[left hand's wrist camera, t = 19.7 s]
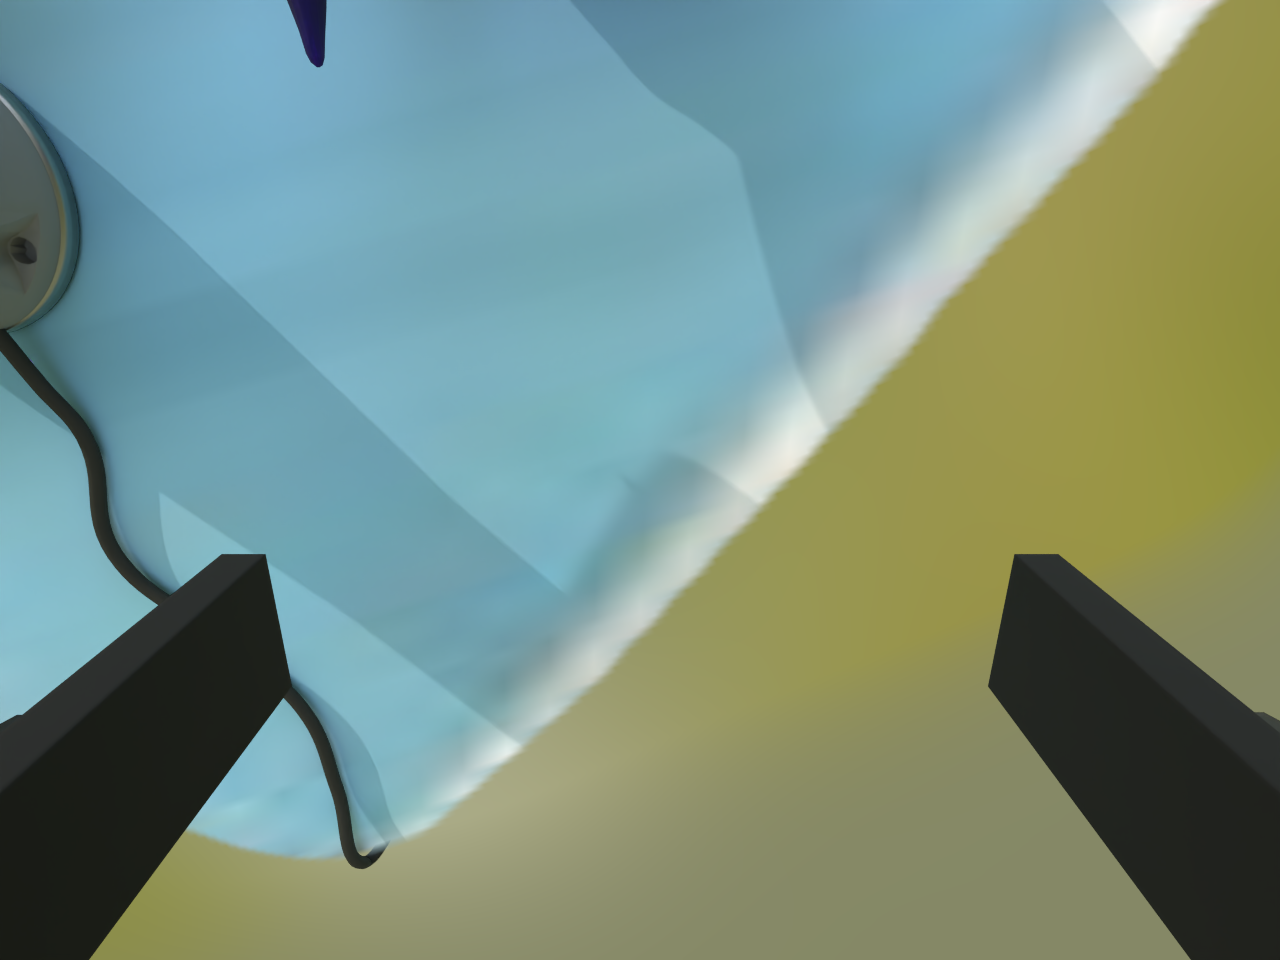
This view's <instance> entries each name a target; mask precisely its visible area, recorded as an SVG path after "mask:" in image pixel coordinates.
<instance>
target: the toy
mask: <svg viewBox="0 0 1280 960" xmlns="http://www.w3.org/2000/svg"><path fill="white" fill-rule="evenodd" d="M287 1H288V4H289V6H290V9H291V11H292V14H293V17H294V19H295V22H296V24H297V27H298V29H299V32H300V35H301V39H302V42H303V45H304V48H305V51H306V54H307V56H308V58H309V60H310V61H311V63H313V64H314V65H315V66H316V67H321V66H322V65H323V62H324V58H325V27H326V0H287Z"/></svg>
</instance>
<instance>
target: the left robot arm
mask: <svg viewBox="0 0 1280 960" xmlns="http://www.w3.org/2000/svg"><path fill="white" fill-rule="evenodd" d="M78 247H79V222H78V213H77V207H76V202H75V198H74V194H73V190H72V187H71V184H70V181H69V178H68V176H67V173H66V171H65V168H64V166H63V164H62V162H61V159H60V157H59V155H58V154H57V152H56V150H55V148H54V146H53V144H52V143H51V141H50V140H49V138H48V137H47V135H46V133H45V132H44V130H43V129H42V128H41V126H40V125H39V124H38V122H37V121H36V120H35V118H34V117H33V116H32V114H31V113H30V112H29V111H28V110H27V109H26V108H25V106H24V105H23V104H22V103H21V102H20V101H19V100H18V99H17V98H16V97H15V96H14V95H13V94H12V93H11V92H10V91H9V90H8V89H6V88H5V87H4V86H3V85H2V84H1V83H0V351H1V352H2V354H3V355H4V356H5V357H6V358H7V360H8V361H9V362H10V363H11V364H12V366H13V367H14V368H15V369H16V370H17V372H18V373H19V374H20V375H21V376H22V377H23V379H24V380H25V381H26V382H27V383H28V385H29V386H30V387H31V388H32V389H33V390H34V391H35V393H36V394H37V395H38V396H39V397H40V398H41V399H42V400H43V401H44V402H45V403H46V404H47V405H48V406H49V407H50V408H51V409H52V410H53V411H54V412H55V413H56V414H57V415H58V416H59V417H60V418H61V419H62V420H63V421H64V423H65V424H66V425H67V426H68V427H69V429H70V430H71V432H72V433H73V435H74V436H75V438H76V440H77V442H78V444H79V446H80V448H81V450H82V453H83V456H84V459H85V463H86V467H87V473H88V481H89V495H90V508H91V516H92V521H93V526H94V529H95V533H96V536H97V538H98V540H99V543H100V545H101V547H102V549H103V550H104V552H105V554H106V556H107V557H108V559H109V560H110V561H111V563H112V564H113V565H114V567H115V568H116V569H117V570H118V571H119V573H120V574H121V575H122V576H123V577H124V578H125V579H126V580H127V581H128V582H129V583H130V584H131V585H132V586H134V587H135V588H136V589H137V590H138V591H139V592H141V593H142V594H143V595H145V596H146V597H147V598H149V599H150V600H152V601H153V602H154V603H156V604H157V605H158V606H157V607H156V608H154V609H153V610H152V611H151V612H150V613H148V614H147V615H146V616H145V617H143V618H142V619H141V620H140V621H138V622H137V623H136V624H135V625H133V626H132V627H131V628H130V629H128V630H127V631H126V632H125V633H123V634H122V635H121V636H120V637H118V638H117V639H116V640H115V641H114V642H112V643H111V644H110V645H109V646H107V647H106V648H105V649H104V650H102V651H101V652H100V653H99V654H97V655H96V656H95V657H94V658H92V659H91V660H90V661H89V662H87V663H86V664H85V665H84V666H83V667H81V668H80V669H79V670H78V671H76V672H75V673H74V674H73V675H71V676H70V677H69V678H68V679H66V680H65V681H64V682H63V683H61V684H60V685H59V686H58V687H56V688H55V689H54V690H53V691H52V692H50V693H49V694H48V695H47V696H45V697H44V698H43V699H42V700H40V701H39V702H38V703H37V704H35V705H34V706H33V707H32V708H30V709H29V710H28V711H27V712H25V713H24V714H23V715H16V716H14V717H12V718H10V719H8V720H7V721H5V722H3V723H1V724H0V960H89V959H90V958H91V956H92V955H93V954H94V952H95V951H96V950H97V948H98V947H99V946H100V944H101V943H102V942H103V940H104V939H105V937H106V936H107V935H108V933H109V932H110V931H111V929H112V928H113V927H114V925H115V924H116V923H117V921H118V920H119V919H120V917H121V916H122V915H123V913H124V912H125V911H126V909H127V908H128V907H129V905H130V904H131V902H132V901H133V900H134V898H135V897H136V896H137V894H138V893H139V892H140V890H141V889H142V888H143V886H144V885H145V884H146V882H147V881H148V880H149V878H150V877H151V876H152V874H153V873H154V871H155V870H156V869H157V867H158V866H159V865H160V863H161V862H162V861H163V859H164V858H165V857H166V855H167V854H168V853H169V851H170V850H171V848H172V847H173V846H174V844H175V843H176V842H177V840H178V839H179V838H180V836H181V835H182V834H183V832H184V831H185V830H186V828H187V827H188V826H189V824H190V823H191V822H192V820H193V819H194V818H195V816H196V815H197V814H198V812H199V811H200V809H201V808H202V807H203V805H204V804H205V803H206V801H207V800H208V799H209V797H210V796H211V795H212V793H213V792H214V791H215V789H216V788H217V787H218V785H219V784H220V783H221V781H222V780H223V778H224V777H225V776H226V774H227V773H228V772H229V770H230V769H231V768H232V766H233V765H234V764H235V762H236V761H237V760H238V758H239V757H240V756H241V754H242V753H243V752H244V750H245V749H246V747H247V746H248V745H249V743H250V742H251V741H252V739H253V738H254V737H255V735H256V734H257V733H258V731H259V730H260V729H261V727H262V726H263V725H264V723H265V722H266V721H267V719H268V718H269V716H270V715H271V714H272V712H273V711H274V710H275V708H276V707H277V706H278V704H279V703H280V702H281V700H282V699H283V698H284V699H285V700H286V701H287V702H288V703H289V704H290V705H291V706H292V708H293V709H294V710H295V711H296V713H297V714H298V715H299V717H300V718H301V719H302V721H303V722H304V724H305V726H306V727H307V729H308V731H309V733H310V735H311V737H312V739H313V741H314V743H315V746H316V748H317V751H318V754H319V757H320V760H321V763H322V766H323V770H324V773H325V776H326V779H327V782H328V785H329V788H330V791H331V794H332V797H333V800H334V804H335V809H336V814H337V820H338V828H339V835H340V841H341V846H342V850H343V853H344V856H345V857H346V859H347V861H348V863H349V864H350V865H351V866H353V867H355V868H358V869H365V868H367V867H369V866H371V865H372V864H374V863H375V862H376V861H377V860H378V859H379V858H380V856H381V855H382V854H383V852H384V851H385V849H386V847H387V846H388V844H387V845H384V846H381V847H378V848H374V849H372V850H371V851H370V852H369V853H368V854H367V855H366V856H361V855H360V854H359V853H358V852H357V850H356V847H355V843H354V839H353V833H352V826H351V818H350V812H349V806H348V801H347V797H346V793H345V790H344V787H343V784H342V781H341V778H340V775H339V772H338V769H337V765H336V762H335V759H334V755H333V752H332V749H331V746H330V743H329V741H328V738H327V736H326V733H325V731H324V729H323V727H322V725H321V724H320V722H319V720H318V718H317V717H316V715H315V714H314V712H313V711H312V709H311V708H310V707H309V705H308V704H307V703H306V702H305V700H304V699H303V698H302V697H301V696H300V694H299V693H298V692H297V691H296V690H295V689H294V688H293V687H292V684H291V679H290V674H289V669H288V664H287V659H286V654H285V649H284V644H283V639H282V634H281V629H280V624H279V619H278V614H277V609H276V604H275V599H274V594H273V589H272V584H271V579H270V574H269V569H268V564H267V559H266V554H221V555H220V556H219V557H218V558H216V559H215V560H214V561H213V562H212V563H210V564H209V565H208V566H207V567H205V568H204V569H203V570H202V571H200V572H199V573H198V574H197V575H195V576H194V577H193V578H192V579H190V580H189V581H188V582H187V583H185V584H184V585H183V586H182V587H181V588H179V589H178V590H177V591H176V592H174V593H173V594H172V595H171V596H170V595H168V594H167V593H165V592H164V591H163V590H161V589H160V588H158V587H157V586H156V585H154V584H153V583H152V582H151V581H149V580H148V579H147V578H146V577H145V576H144V575H142V574H141V573H140V572H139V571H138V570H137V569H136V568H135V566H134V565H133V564H132V563H131V562H130V561H129V559H128V558H127V557H126V555H125V554H124V553H123V551H122V550H121V548H120V546H119V545H118V543H117V541H116V539H115V536H114V534H113V532H112V528H111V525H110V520H109V515H108V505H107V488H106V476H105V469H104V464H103V460H102V456H101V453H100V450H99V447H98V445H97V443H96V441H95V438H94V436H93V434H92V433H91V431H90V429H89V427H88V426H87V424H86V423H85V422H84V420H83V419H82V418H81V416H80V415H79V414H78V413H77V412H76V411H75V409H74V408H73V407H72V406H71V405H70V404H69V403H68V402H67V401H66V400H65V399H64V398H63V397H62V396H61V395H60V394H59V393H58V392H57V391H56V390H55V389H54V388H53V387H52V386H51V384H50V383H49V382H48V381H47V380H46V379H45V377H44V376H43V375H42V374H41V373H40V371H39V370H38V369H37V368H36V367H35V365H34V364H33V363H32V362H31V360H30V359H29V358H28V357H27V356H26V354H25V353H24V352H23V351H22V349H21V348H20V347H19V346H18V345H17V343H16V342H15V341H14V340H13V338H12V337H11V336H10V335H9V334H8V333H9V332H12V331H15V330H18V329H21V328H23V327H25V326H27V325H30V324H32V323H33V322H35V321H36V320H38V319H39V318H41V317H42V316H44V315H45V314H46V313H47V312H48V311H49V310H50V309H51V308H52V307H53V306H54V305H55V304H56V303H57V302H58V300H59V299H60V298H61V296H62V295H63V293H64V292H65V290H66V288H67V286H68V284H69V282H70V280H71V277H72V274H73V272H74V269H75V264H76V260H77V255H78ZM988 687H989V688H990V689H991V691H992V692H993V694H994V695H995V696H996V698H997V699H998V700H999V702H1000V703H1001V704H1002V706H1003V707H1004V708H1005V710H1006V711H1007V712H1008V714H1009V715H1010V716H1011V718H1012V719H1013V721H1014V722H1015V723H1016V724H1017V726H1018V727H1019V729H1020V730H1021V731H1022V733H1023V734H1024V735H1025V737H1026V738H1027V739H1028V741H1029V742H1030V743H1031V745H1032V746H1033V747H1034V749H1035V750H1036V751H1037V753H1038V754H1039V756H1040V757H1041V758H1042V760H1043V761H1044V762H1045V764H1046V765H1047V766H1048V768H1049V769H1050V770H1051V772H1052V773H1053V774H1054V776H1055V777H1056V778H1057V780H1058V781H1059V783H1060V784H1061V785H1062V787H1063V788H1064V789H1065V791H1066V792H1067V793H1068V795H1069V796H1070V797H1071V799H1072V800H1073V801H1074V803H1075V804H1076V805H1077V807H1078V808H1079V809H1080V811H1081V812H1082V813H1083V815H1084V816H1085V818H1086V819H1087V820H1088V822H1089V823H1090V824H1091V826H1092V827H1093V828H1094V830H1095V831H1096V832H1097V834H1098V835H1099V836H1100V838H1101V839H1102V840H1103V842H1104V843H1105V844H1106V846H1107V847H1108V848H1109V850H1110V851H1111V853H1112V854H1113V855H1114V857H1115V858H1116V859H1117V861H1118V862H1119V863H1120V865H1121V866H1122V867H1123V869H1124V870H1125V871H1126V873H1127V874H1128V876H1129V877H1130V878H1131V879H1132V881H1133V882H1134V884H1135V885H1136V886H1137V888H1138V889H1139V890H1140V892H1141V893H1142V894H1143V896H1144V897H1145V898H1146V900H1147V901H1148V902H1149V904H1150V905H1151V906H1152V908H1153V909H1154V911H1155V912H1156V913H1157V915H1158V916H1159V917H1160V919H1161V920H1162V921H1163V923H1164V924H1165V925H1166V927H1167V928H1168V929H1169V931H1170V932H1171V933H1172V935H1173V936H1174V938H1175V939H1176V940H1177V942H1178V943H1179V944H1180V946H1181V947H1182V948H1183V950H1184V951H1185V952H1186V954H1187V955H1188V956H1189V958H1190V959H1191V960H1280V721H1279V720H1277V719H1275V718H1273V717H1272V716H1270V715H1268V714H1266V713H1264V712H1253V711H1252V710H1251V709H1250V708H1248V707H1247V706H1246V705H1245V704H1243V703H1242V702H1241V701H1240V700H1238V699H1237V698H1236V697H1235V696H1233V695H1232V694H1231V693H1230V692H1228V691H1227V690H1226V689H1225V688H1224V687H1222V686H1221V685H1220V684H1219V683H1217V682H1216V681H1215V680H1214V679H1212V678H1211V677H1210V676H1209V675H1207V674H1206V673H1205V672H1204V671H1202V670H1201V669H1200V668H1199V667H1197V666H1196V665H1195V664H1194V663H1192V662H1191V661H1190V660H1189V659H1188V658H1186V657H1185V656H1184V655H1183V654H1181V653H1180V652H1179V651H1178V650H1176V649H1175V648H1174V647H1173V646H1171V645H1170V644H1169V643H1168V642H1166V641H1165V640H1164V639H1163V638H1161V637H1160V636H1159V635H1158V634H1157V633H1155V632H1154V631H1153V630H1152V629H1150V628H1149V627H1148V626H1147V625H1145V624H1144V623H1143V622H1142V621H1140V620H1139V619H1138V618H1137V617H1135V616H1134V615H1133V614H1132V613H1130V612H1129V611H1128V610H1127V609H1126V608H1124V607H1123V606H1122V605H1121V604H1119V603H1118V602H1117V601H1116V600H1114V599H1113V598H1112V597H1111V596H1109V595H1108V594H1107V593H1106V592H1104V591H1103V590H1102V589H1101V588H1099V587H1098V586H1097V585H1096V584H1094V583H1093V582H1092V581H1091V580H1090V579H1088V578H1087V577H1086V576H1085V575H1083V574H1082V573H1081V572H1080V571H1078V570H1077V569H1076V568H1075V567H1073V566H1072V565H1071V564H1070V563H1068V562H1067V561H1066V560H1065V559H1063V558H1062V557H1061V556H1060V555H1059V554H1015V555H1014V560H1013V565H1012V570H1011V574H1010V579H1009V585H1008V589H1007V595H1006V599H1005V604H1004V609H1003V614H1002V620H1001V624H1000V629H999V634H998V639H997V644H996V649H995V654H994V659H993V664H992V669H991V675H990V679H989V684H988Z"/></svg>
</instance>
